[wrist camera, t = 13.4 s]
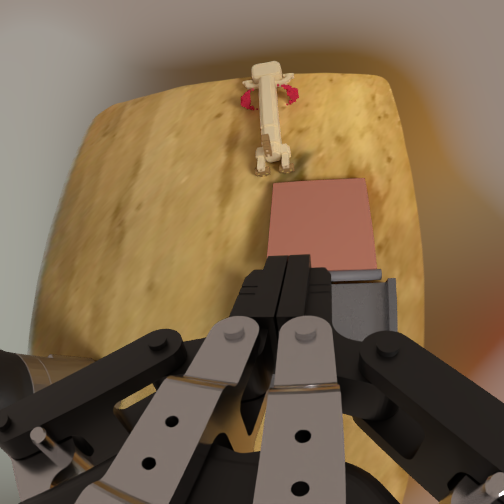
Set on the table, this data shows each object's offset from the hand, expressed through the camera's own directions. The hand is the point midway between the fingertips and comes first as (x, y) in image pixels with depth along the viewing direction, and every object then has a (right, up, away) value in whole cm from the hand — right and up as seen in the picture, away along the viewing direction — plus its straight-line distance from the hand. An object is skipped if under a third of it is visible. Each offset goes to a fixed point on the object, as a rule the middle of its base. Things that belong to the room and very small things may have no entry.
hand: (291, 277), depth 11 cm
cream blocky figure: (+2, +24, +39) cm, 46 cm away
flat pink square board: (+7, -2, +24) cm, 25 cm away
